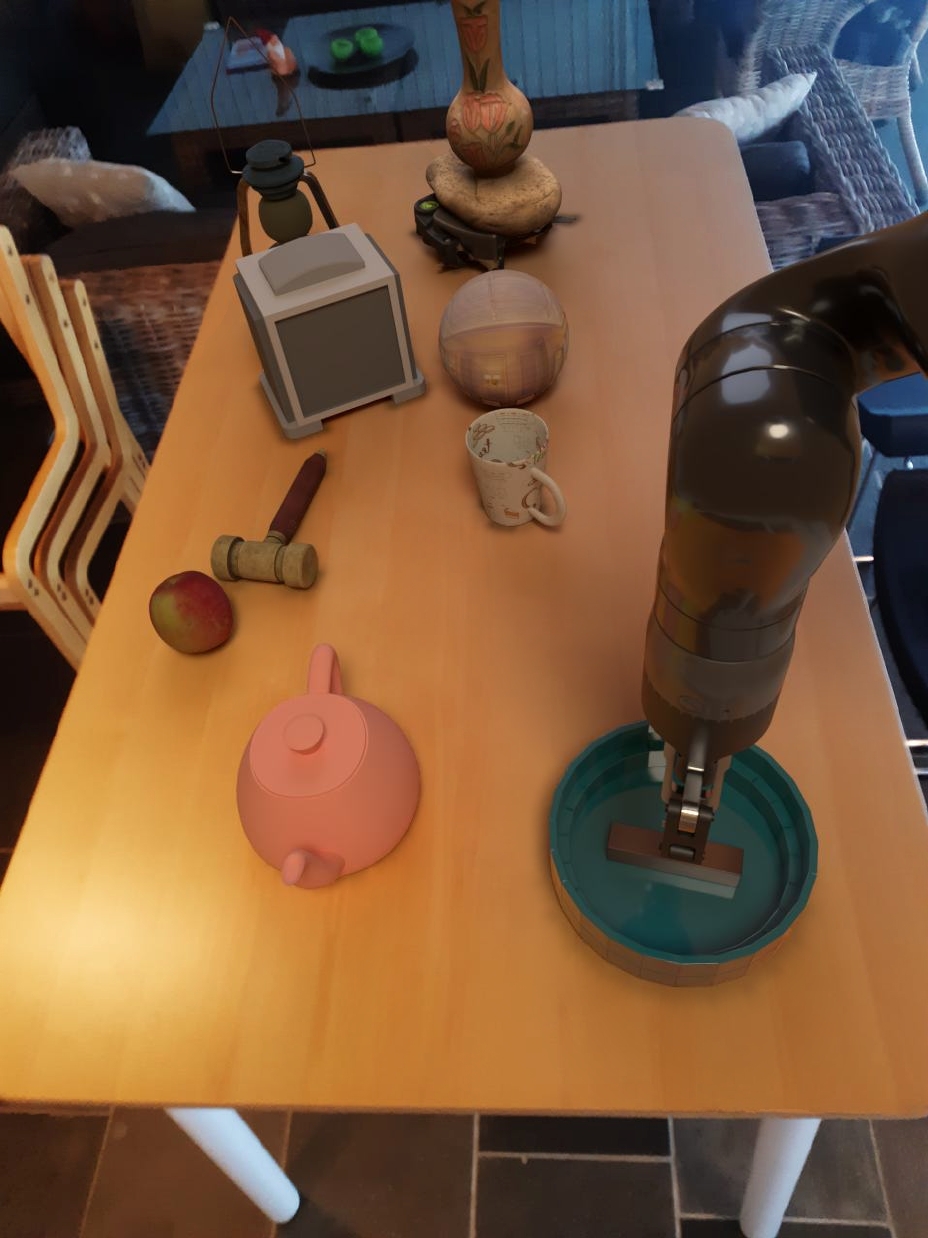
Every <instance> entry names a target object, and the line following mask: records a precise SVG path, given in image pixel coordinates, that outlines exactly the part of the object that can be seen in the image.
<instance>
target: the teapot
mask: <svg viewBox="0 0 928 1238" xmlns="http://www.w3.org/2000/svg"><path fill="white" fill-rule="evenodd" d="M307 673H308V675H307V683H306V684H307V685H306V694H302V695H297V696H294V697H291V698H288V699H286V700H284V701H282V702H280V703H279V704H277V705H276V706H275V707H273V708H272V709H271V710H270V711H268V712H267V714H266V715H265V716H264V717H263V718H262V719H261V720H260V721H259V722H258V724H257V726H256V728H255V729H254V730H253V732H252V733H251V735H250V738H249V740H248V742H247V744H246V746H245V747H244V751H243V753H242V756H241V759H240V761H239V766H238V771H237V777H236V788H235V792H236V793H235V794H236V806H237V811H238V817H239V820H240V823H241V828H242V829H243V832H244V835H245V837H246V839H247V841H248V843H249V844H250V846H251V848H252V849H253V850H254V852H255V853H256V854H257V856H258V857H259V858H260V859H261V860H263V861H264V862H265V863H266V864H267V865H269V866H270V867H271V868H273V869H275V870H278V871H279V872H280V874H281V875H280V876H281V881H282V883H283V884H284V885H285V886H286V887H291V886H295V887H297V888H299V889H303V890H317V889H321V888H322V889H323V888H325V887H328V886H331V885H332V884H333V883H334V882H336V880H337V879H338V878H339V877H343V876H346V875H352V874H354V873H357V872H361V871H363V870H365V869H367V868H369V867H371V866H373V865H374V864H376V863H378V862H379V861H380V860H382V859H384V858H385V856H387V855H388V854H389V853H390V852H391V851H392V850H393V849H394V848H395V847H396V846H397V845H398V844H399V843H400V841H401V840H402V839H403V837H404V836H405V834H406V832H407V831H408V829H409V827H410V825H411V823H412V821H413V819H414V816H415V813H416V810H417V808H418V803H419V798H420V791H421V774H420V768H419V763H418V760H417V757H416V754H415V751H414V749H413V746H412V744H411V742H410V740H409V739H408V737H407V735H406V734H405V733H404V731H403V730H402V729H401V727H400V726H399V724H397V723H396V722H395V720H394V719H393V718H392V717H390V715H389V714H387V713H386V712H385V711H384V710H382V709H381V708H379V707H377V705H374V704H373V703H370V702H368V701H367V700H364V699H360V698H358V697H356V696H350V695H346V694H345V693H344V685H343V680H342V673H341V666H340V662H339V658H338V655H337V651H336V649H335V647H334V646H332V645H331V644H329V643H320V644H318V645H316V646H315V647H314V649H313V650H312V653H311V655H310V661H309V667H308V672H307Z"/></svg>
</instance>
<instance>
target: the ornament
mask: <svg viewBox="0 0 928 1238" xmlns="http://www.w3.org/2000/svg"><path fill="white" fill-rule="evenodd" d="M569 345H570V331H569V323H568V319H567V316H566V313H565V310H564V308H563V306H562V304H561V302H560V300H559V299H558V297H557V296H556V294H555V293H554V292H553V291H552V290H551V289H550V287H548V286H547V285H546V284H545V283H544V282H543V281H541V280H540V279H539V278H536V277H535V276H532V275H530V274H529V273H526V272H523V271H519V270H514V269H504V270H499V269H494V270H492V271H490V272H489V271H486V272H483V273H481V274H479V275H477V276H474V277H473V278H471V279H469V280H468V281H467V282H465V283H464V284H463V285H462V286H460V287H459V288H458V290H457V291H456V292H455V293H454V294H453V295H452V296H451V298H450V299H449V301H448V303H447V305H446V306H445V308H444V310H443V314H442V316H441V319H440V323H439V329H438V349H439V355H440V359H441V362H442V365H443V367H444V370H445V371H446V373H447V375H448V376H449V378H450V380H451V381H452V382H453V383H454V385H455V387H457V388H458V389H459V390H460V391H461V392H462V393H464V394H465V395H466V396H468V397H469V398H471V399H472V400H475V401H477V402H479V403H481V404H483V405H488V406H493V407H513V406H514V407H515V406H519V405H521V404H525V403H527V402H530V401H532V400H534V399H536V398H538V396H540V395H541V394H542V393H544V392H545V391H546V390H547V389H549V388H550V387H551V385H552V384H553V383H554V382H555V380H556V379H557V377H558V376H559V374H560V372H561V371H562V369H563V366H564V365H565V362H566V359H567V356H568V350H569Z"/></svg>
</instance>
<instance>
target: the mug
mask: <svg viewBox="0 0 928 1238" xmlns="http://www.w3.org/2000/svg"><path fill="white" fill-rule="evenodd" d="M549 432H550V431H549V429H548V425H547V424H546V422H545V420H543V418H542V417H540V416H538V414H535V413H534V412H531V411H529V410H525V409H522V408H500V409H495V410H492V411H489V412H487V413H484V414H483V415H481V416H479V417H477V418H476V419H475V420H474V421H473V422H472V423H471V424H470V425H469V427H468V428H467V431H466V432H465V433H466V434H465V438H464V440H465V441H464V442H465V447H466V451H467V455H468V458H469V462H470V465H471V468H472V472H473V475H474V478H475V482H476V485H477V488H478V491H479V495H480V498H481V501H482V506H483V508H484V511H485V513H486V515H487V517H488V518H489V519H490V520H491V521H492V522H494V523H496V524H499V525H500V526H506V527H515V526H520V525H524V524H526V523H528V522H530V521H531V520H533V519H534V518H535V519H536V520H537V521H539V522H540V523H542V524H543V525H546V526H552V527H553V526H559V525H561V524H562V523H564V522H565V520H566V519H567V515H568V508H567V503H566V500H565V499H566V498H565V497H564V495H563V493H562V491H561V489H560V487H559V486H558V485H557V483H556V481H554V480H553V478H551V477H550V475H548V474H546V468H547V467H546V466H547V459H548V451H549V443H550V433H549ZM544 487H545V488H547V490H548V491H549V493H550V494H551V496H552V498H553V501H554V503H555V507H556V511H555V513H554V514H553V515H550V516H548V515H545V514H543V513H542V511H540V509H541V503H542V498H543V497H542V496H543V489H544Z"/></svg>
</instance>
